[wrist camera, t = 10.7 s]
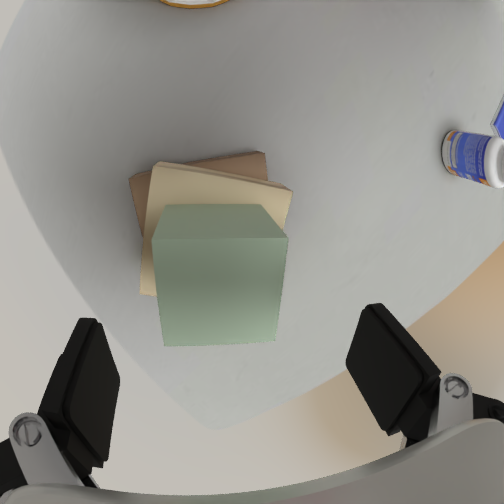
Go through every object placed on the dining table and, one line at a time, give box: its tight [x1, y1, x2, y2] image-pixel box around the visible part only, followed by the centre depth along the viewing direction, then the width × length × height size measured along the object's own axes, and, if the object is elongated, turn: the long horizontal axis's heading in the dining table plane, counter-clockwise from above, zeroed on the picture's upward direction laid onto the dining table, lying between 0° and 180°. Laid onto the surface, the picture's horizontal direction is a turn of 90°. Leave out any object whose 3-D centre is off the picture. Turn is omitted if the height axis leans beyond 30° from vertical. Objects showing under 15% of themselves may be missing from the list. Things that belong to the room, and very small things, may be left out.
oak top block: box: [140, 161, 293, 297], centre depth 20 cm, size 9×9×3 cm
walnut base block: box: [129, 151, 268, 238], centre depth 23 cm, size 10×10×3 cm
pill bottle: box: [442, 130, 504, 189], centre depth 21 cm, size 5×5×10 cm
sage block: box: [152, 204, 288, 346], centre depth 16 cm, size 6×6×6 cm
